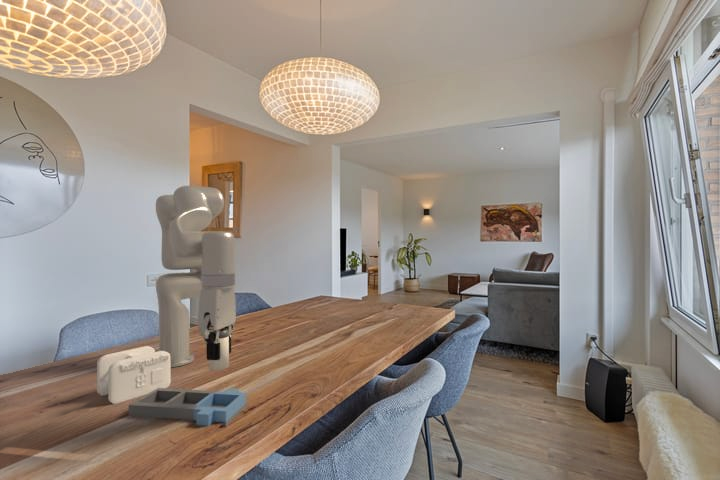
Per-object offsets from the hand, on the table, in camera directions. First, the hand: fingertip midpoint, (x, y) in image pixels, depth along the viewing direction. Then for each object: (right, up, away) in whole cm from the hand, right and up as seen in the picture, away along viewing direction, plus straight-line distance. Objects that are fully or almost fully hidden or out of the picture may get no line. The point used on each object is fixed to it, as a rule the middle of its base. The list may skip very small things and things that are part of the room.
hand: (219, 355), depth 87 cm
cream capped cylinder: (0, -3, 0) cm, 3 cm away
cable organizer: (-28, -15, +12) cm, 35 cm away
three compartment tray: (-8, -15, +1) cm, 17 cm away
